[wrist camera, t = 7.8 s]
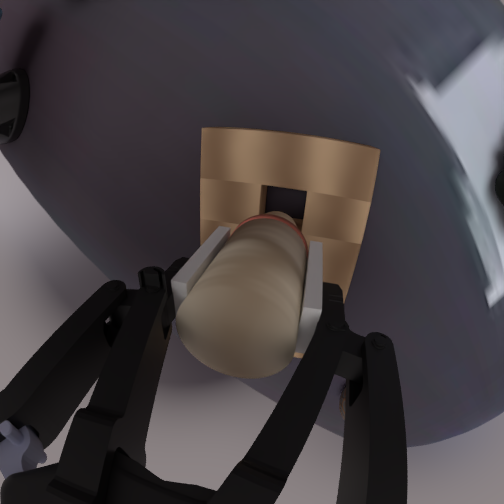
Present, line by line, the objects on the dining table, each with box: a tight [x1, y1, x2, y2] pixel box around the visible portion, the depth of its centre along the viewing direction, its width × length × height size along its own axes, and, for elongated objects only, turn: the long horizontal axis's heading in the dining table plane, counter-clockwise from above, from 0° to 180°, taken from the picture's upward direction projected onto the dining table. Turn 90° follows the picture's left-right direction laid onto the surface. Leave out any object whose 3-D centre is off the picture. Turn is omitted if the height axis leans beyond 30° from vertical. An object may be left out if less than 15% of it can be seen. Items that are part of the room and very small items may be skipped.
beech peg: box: [176, 211, 308, 378], centre depth 15 cm, size 5×5×12 cm
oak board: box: [200, 127, 380, 358], centre depth 29 cm, size 16×26×4 cm, turn 176°
